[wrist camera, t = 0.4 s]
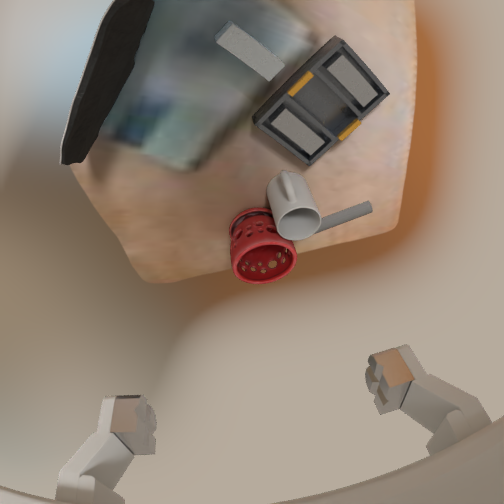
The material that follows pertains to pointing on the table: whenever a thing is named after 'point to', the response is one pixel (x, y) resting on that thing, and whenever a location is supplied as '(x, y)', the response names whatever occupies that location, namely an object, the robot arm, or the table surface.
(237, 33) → the grey rectangular block
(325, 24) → the table surface
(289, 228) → the mug
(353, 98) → the rack
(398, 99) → the table surface
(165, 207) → the table surface
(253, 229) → the plant pot
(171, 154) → the table surface
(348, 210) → the half round rod
